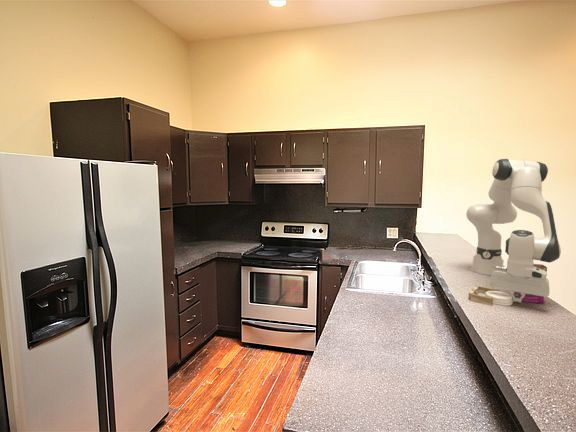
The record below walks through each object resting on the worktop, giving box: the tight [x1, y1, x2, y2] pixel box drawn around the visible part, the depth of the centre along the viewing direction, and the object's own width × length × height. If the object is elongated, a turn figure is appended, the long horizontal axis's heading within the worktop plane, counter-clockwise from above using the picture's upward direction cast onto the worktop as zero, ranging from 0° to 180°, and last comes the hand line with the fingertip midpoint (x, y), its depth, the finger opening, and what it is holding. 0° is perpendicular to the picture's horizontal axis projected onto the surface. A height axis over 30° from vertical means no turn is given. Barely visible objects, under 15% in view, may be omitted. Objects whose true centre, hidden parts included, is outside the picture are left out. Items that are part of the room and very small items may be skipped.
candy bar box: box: [509, 263, 548, 305], centre depth 138 cm, size 11×5×16 cm, turn 70°
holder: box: [467, 285, 500, 306], centre depth 141 cm, size 15×9×3 cm, turn 137°
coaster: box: [485, 290, 514, 307], centre depth 137 cm, size 10×10×4 cm
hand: (517, 301), depth 133 cm, fingers closed
